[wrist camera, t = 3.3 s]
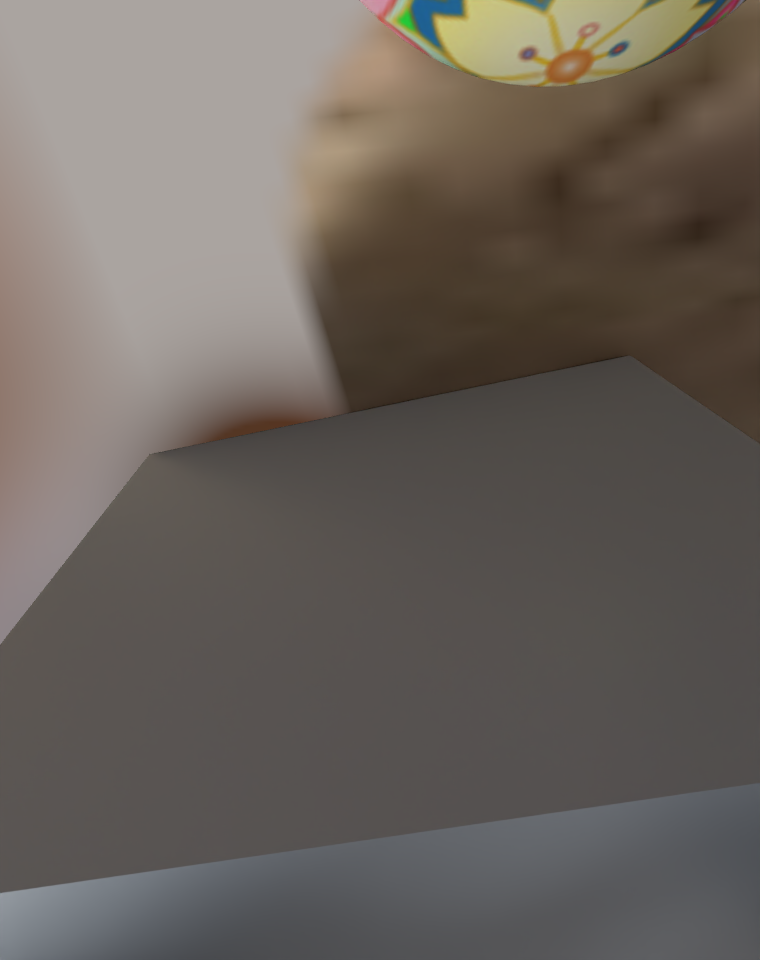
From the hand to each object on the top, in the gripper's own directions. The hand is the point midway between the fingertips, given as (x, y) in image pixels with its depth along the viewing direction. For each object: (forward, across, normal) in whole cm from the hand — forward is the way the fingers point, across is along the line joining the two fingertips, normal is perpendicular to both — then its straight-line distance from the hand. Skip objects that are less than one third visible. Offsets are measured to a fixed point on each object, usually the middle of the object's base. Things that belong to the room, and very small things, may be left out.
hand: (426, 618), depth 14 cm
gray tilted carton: (+1, 0, 0) cm, 1 cm away
